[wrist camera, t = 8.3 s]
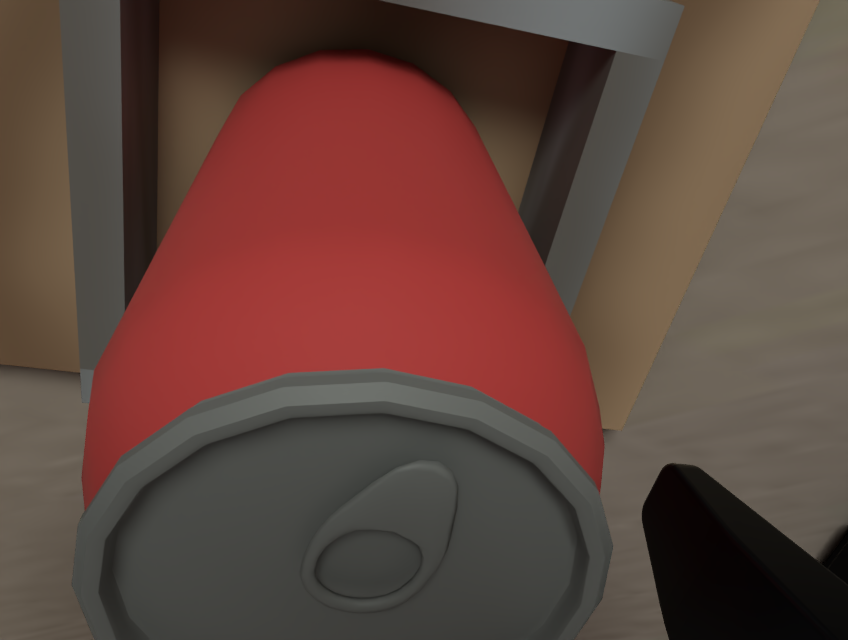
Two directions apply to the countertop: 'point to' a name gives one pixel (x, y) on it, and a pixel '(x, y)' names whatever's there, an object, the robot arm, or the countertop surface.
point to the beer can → (344, 390)
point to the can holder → (446, 63)
